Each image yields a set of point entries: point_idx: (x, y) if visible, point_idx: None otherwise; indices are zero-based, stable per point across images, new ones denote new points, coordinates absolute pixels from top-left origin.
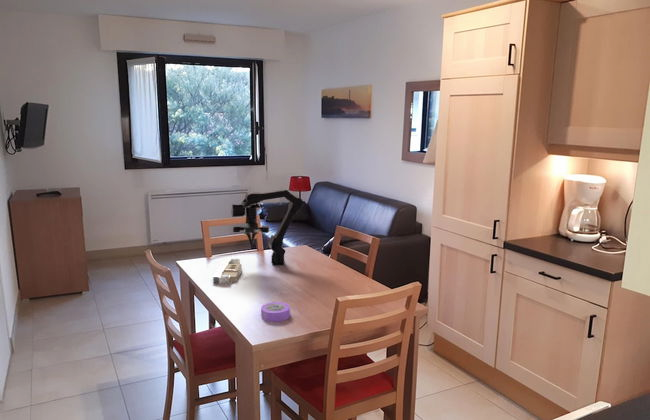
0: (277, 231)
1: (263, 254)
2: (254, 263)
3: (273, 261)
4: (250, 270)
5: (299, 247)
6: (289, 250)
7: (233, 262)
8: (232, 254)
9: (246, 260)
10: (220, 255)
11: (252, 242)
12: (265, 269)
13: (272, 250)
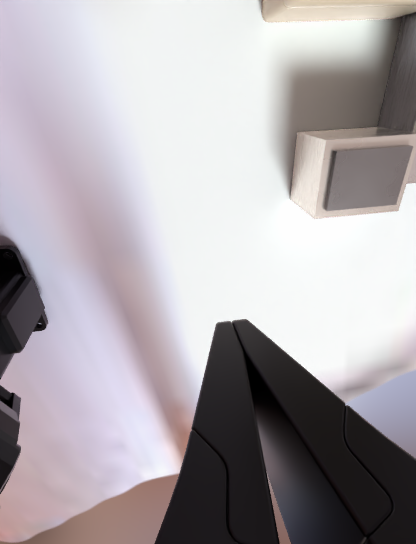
0: None
1: (169, 422)
2: (183, 263)
3: (4, 279)
4: (170, 38)
5: (15, 530)
6: (46, 494)
7: (371, 135)
8: (342, 389)
9: (253, 314)
10: (407, 364)
11: (217, 349)
12: (17, 95)
13: (19, 399)
